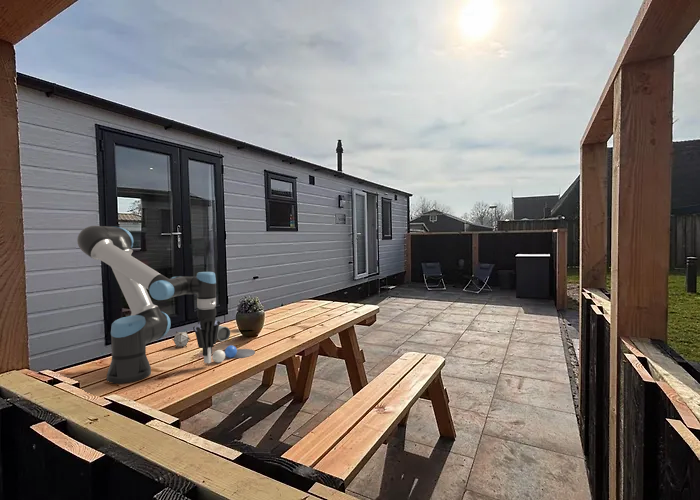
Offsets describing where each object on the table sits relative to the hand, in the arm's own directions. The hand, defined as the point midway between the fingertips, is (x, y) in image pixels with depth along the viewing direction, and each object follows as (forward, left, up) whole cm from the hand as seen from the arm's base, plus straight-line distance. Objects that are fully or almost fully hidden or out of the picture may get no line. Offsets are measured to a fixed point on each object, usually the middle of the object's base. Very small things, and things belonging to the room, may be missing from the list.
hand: (207, 362), depth 154 cm
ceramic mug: (+10, +42, -2) cm, 43 cm away
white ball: (+5, +4, +1) cm, 7 cm away
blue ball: (+11, +9, +1) cm, 14 cm away
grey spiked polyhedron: (-9, +38, -2) cm, 39 cm away
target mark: (+16, +12, -2) cm, 20 cm away
